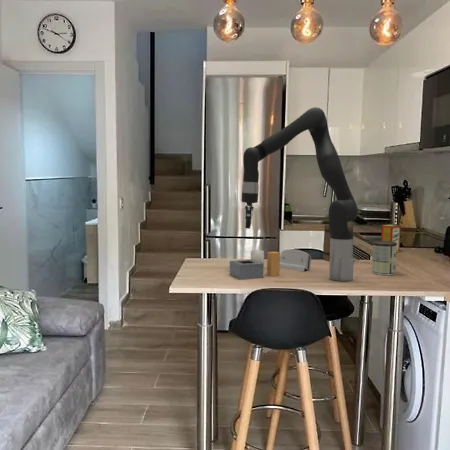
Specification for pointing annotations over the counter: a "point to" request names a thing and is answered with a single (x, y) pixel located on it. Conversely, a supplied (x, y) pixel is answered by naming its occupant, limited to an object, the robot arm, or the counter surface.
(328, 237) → the wooden container
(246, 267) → the block
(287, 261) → the grey curved-top upright plate
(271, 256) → the square bit
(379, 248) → the coffee can
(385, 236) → the baking soda box
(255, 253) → the round bit
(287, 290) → the counter surface
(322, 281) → the counter surface
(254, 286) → the counter surface
